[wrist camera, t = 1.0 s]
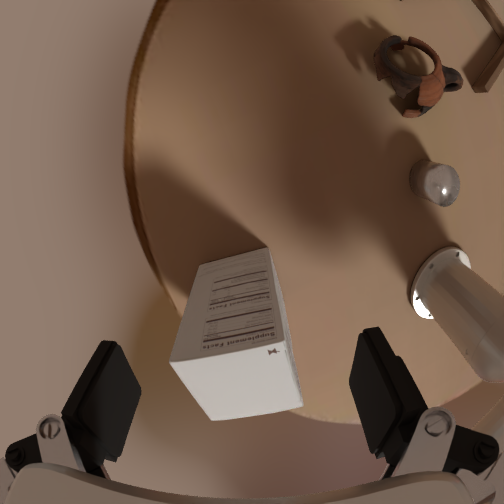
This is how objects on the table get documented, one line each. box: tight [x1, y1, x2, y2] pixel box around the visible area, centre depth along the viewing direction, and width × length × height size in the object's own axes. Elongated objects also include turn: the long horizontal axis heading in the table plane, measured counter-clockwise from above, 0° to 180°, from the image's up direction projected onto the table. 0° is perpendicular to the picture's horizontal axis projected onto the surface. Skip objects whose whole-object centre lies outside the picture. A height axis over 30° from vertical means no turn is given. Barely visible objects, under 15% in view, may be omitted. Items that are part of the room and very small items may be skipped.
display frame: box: [400, 0, 504, 93], centre depth 18 cm, size 18×19×3 cm
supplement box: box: [169, 247, 303, 421], centre depth 28 cm, size 10×9×17 cm
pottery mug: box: [374, 35, 463, 118], centre depth 23 cm, size 12×10×8 cm
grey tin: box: [409, 160, 460, 207], centre depth 28 cm, size 5×5×5 cm
